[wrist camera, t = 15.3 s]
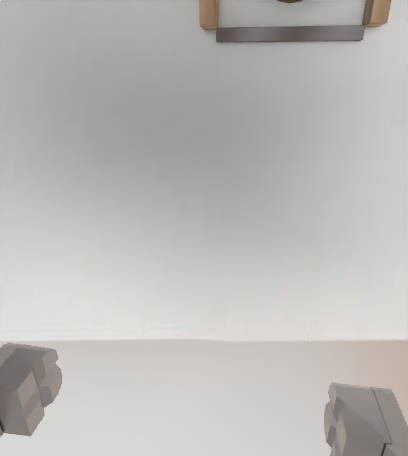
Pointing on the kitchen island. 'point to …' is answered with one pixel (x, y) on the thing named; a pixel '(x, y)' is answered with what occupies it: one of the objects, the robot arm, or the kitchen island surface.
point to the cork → (290, 1)
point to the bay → (373, 17)
